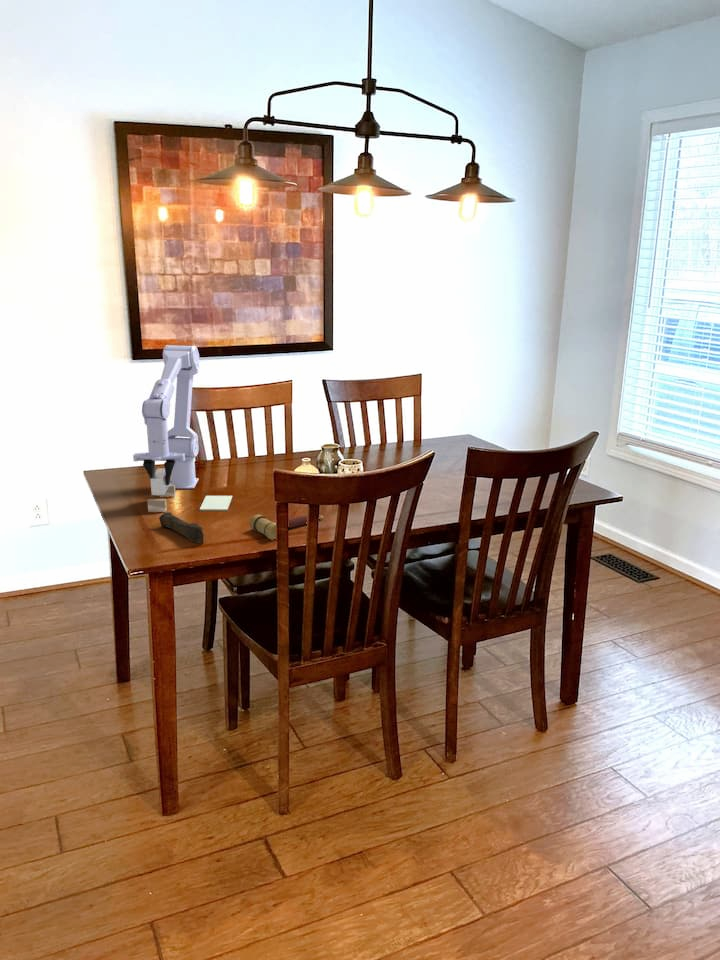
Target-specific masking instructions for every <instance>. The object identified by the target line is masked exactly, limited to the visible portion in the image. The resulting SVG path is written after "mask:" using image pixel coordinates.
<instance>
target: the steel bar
mask: <svg viewBox="0 0 720 960" xmlns="http://www.w3.org/2000/svg"><path fill="white" fill-rule="evenodd" d="M149 479H150V478H149ZM171 482H172V480H171V479H170V484H169V485H166V473H165V467H163V468H160V467H159V468H157V469H155V473H154V475H153V476H152V477H151V479H150V488H151V489H150V490H151V491H150V492H151V496H158V495H164V494H165V493H166V491H167V489H168V488H169V486H170V485H171Z"/></svg>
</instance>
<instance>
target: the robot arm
mask: <svg viewBox="0 0 720 960" xmlns="http://www.w3.org/2000/svg"><path fill="white" fill-rule="evenodd" d="M162 359H163V364H164V367H163V370H162V373H161V378H159V379H157V380H156V381H155V383H154V384H153V387H152V390H151V393H150V395H149V397H148V398H147V399H145V400H144V401H143V402H142V405H141V414H142V417H143V421H144V422H143V423H144V424H145V426H146V435H147V446H148V448H147V449H148V452H137V453H135V452H134V454H132V457H133V462H140V461H141V462H142V461H143V463H142V466H143V468H144V469H145V471H146V472H147V474H148V476H149V479H151V477H152V476H153V475H154V473H155V472H156V462H164V464H163V466H164V467H163V468H165V473H166V485H169V484H170V480H171V485H175V489H194V488H195V487H196V485H197V483H198V482H199V478H198V477H196V465H195V464H196V463H195V459H196V457H197V456H198V455H199V451H200V450H199V449H200V447H199V435H198V434H197V432H195V431H194V429H192V428H191V427H190V426H191V412H192V400H193V399H192V396H193V383H194V376H195V375H196V374H198V373H199V368H200V353H199V350H198V348H197V346H196V345H173V344H172V345H170V344H166V345H165V346H164V347H163V350H162ZM175 380H176V389H175V386H174V382H175ZM174 393H175V403H174V404H175V405H174V419H173V422H174V423H173V427H172V428H170V429H169V430H168V418H169V416H170V408H171V402H170V401H171V399H172V397H173V395H174Z"/></svg>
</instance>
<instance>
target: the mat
mask: <svg viewBox="0 0 720 960" xmlns="http://www.w3.org/2000/svg"><path fill="white" fill-rule="evenodd" d="M232 498H233V495H205V497H204V499H203V501H202V503H201V506H200V507H199V511H228V510H229V507H230V504H231V502H232V500H233V499H232Z"/></svg>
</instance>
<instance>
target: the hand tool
mask: <svg viewBox="0 0 720 960" xmlns="http://www.w3.org/2000/svg"><path fill="white" fill-rule="evenodd" d="M158 520H159V523H160V525H161V526H162V527H164V528H168V529H171V530H173V531H174V532H177V533H178V534H181V535H182V536H184V537H186V538H187V540H188V541H189V540H190V542H193V543H195V544H200V545H203V544H204V540H205V539H204V537H205V534H204V531H203V527H202V526H200V525H199V524H197V523H193V522H190V523H189V522H187V521H184V520H182V519H180V518H179V517H177V516H175V515H173V513H172V512H163V513H162V514H161V515H160V516H159V519H158Z"/></svg>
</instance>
